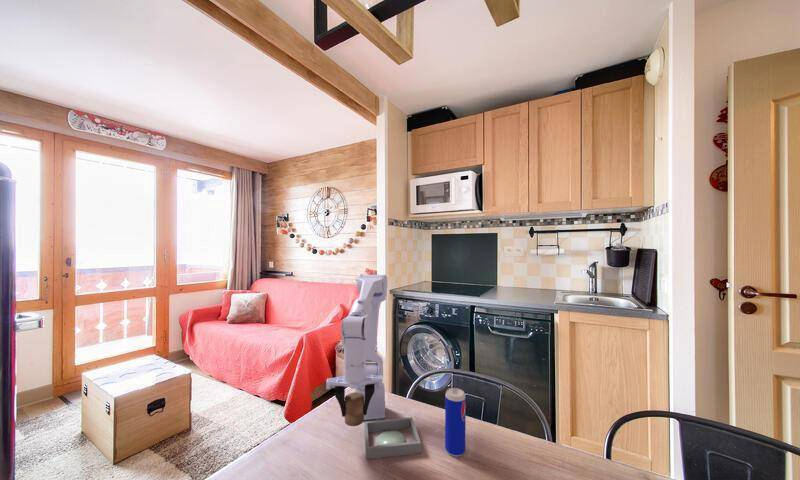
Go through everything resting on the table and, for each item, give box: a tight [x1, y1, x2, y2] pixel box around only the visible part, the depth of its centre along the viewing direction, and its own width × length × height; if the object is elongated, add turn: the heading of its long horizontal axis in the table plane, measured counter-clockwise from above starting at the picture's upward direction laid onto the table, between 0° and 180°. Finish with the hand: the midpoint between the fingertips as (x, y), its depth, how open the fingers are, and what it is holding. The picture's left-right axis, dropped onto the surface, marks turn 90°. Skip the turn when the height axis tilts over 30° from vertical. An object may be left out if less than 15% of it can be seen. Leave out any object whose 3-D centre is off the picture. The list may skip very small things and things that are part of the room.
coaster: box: [376, 430, 406, 446], centre depth 77 cm, size 8×8×1 cm
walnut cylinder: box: [344, 391, 365, 427], centre depth 75 cm, size 5×5×6 cm
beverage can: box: [444, 387, 467, 458], centre depth 74 cm, size 5×5×15 cm
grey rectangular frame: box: [363, 416, 422, 460], centre depth 77 cm, size 14×11×2 cm
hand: (354, 413), depth 75 cm, fingers closed on walnut cylinder, 5 cm apart
